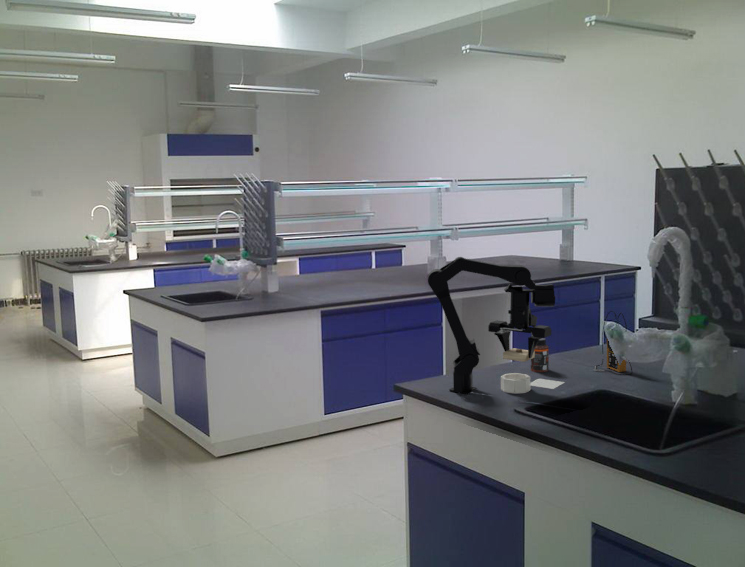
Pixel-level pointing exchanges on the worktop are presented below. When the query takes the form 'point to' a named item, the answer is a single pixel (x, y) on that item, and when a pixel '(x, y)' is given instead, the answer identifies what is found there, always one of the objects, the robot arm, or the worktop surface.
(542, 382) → the mat
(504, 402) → the worktop surface
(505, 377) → the bowl
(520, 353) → the lid
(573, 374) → the worktop surface
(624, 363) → the multimeter
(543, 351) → the supplement bottle
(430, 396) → the worktop surface
